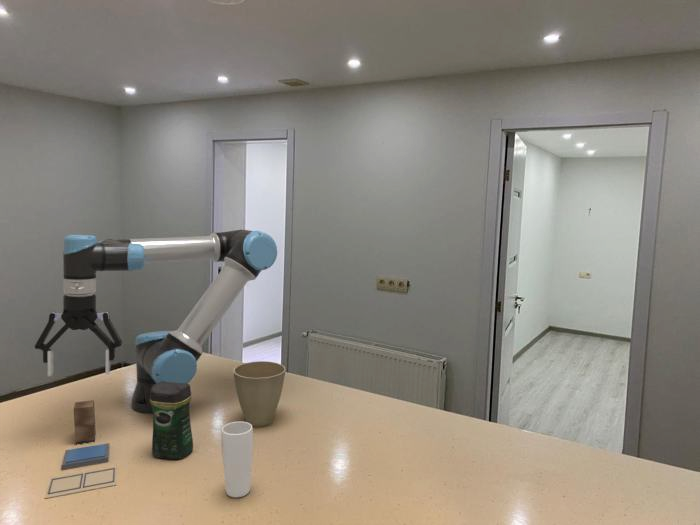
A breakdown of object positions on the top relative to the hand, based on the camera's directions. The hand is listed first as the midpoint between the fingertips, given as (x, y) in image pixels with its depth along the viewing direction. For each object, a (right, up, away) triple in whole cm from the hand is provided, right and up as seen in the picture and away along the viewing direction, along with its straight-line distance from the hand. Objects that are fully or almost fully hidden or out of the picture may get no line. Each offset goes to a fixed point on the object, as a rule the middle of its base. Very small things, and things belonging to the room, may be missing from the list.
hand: (79, 373), depth 134 cm
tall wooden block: (+1, -18, +2) cm, 18 cm away
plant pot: (+45, -18, +15) cm, 51 cm away
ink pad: (+6, -20, -8) cm, 22 cm away
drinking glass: (+47, -22, -21) cm, 56 cm away
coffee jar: (+26, -20, -4) cm, 33 cm away
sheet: (+10, -21, -18) cm, 29 cm away
